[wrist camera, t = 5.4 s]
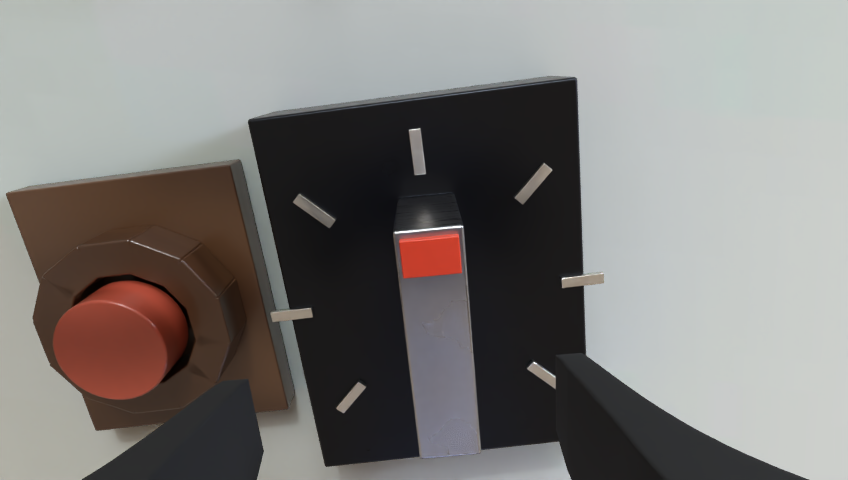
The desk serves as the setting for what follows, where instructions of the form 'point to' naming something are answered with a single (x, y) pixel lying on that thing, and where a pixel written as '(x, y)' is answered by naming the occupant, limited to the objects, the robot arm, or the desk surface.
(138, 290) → the button
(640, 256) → the desk surface
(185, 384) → the button block
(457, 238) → the knob
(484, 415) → the dial base
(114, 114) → the desk surface
